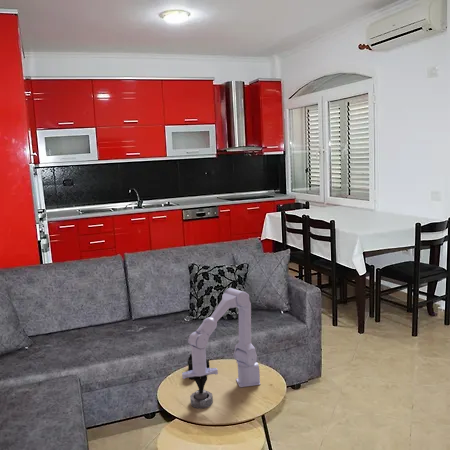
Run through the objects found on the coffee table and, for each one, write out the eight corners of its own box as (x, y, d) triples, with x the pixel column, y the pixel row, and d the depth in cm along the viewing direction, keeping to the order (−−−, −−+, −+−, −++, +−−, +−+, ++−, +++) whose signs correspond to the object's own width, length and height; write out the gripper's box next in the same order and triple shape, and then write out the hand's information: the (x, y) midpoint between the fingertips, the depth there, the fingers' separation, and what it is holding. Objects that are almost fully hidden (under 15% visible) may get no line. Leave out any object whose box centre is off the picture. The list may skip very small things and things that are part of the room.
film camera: (208, 380, 213) (207, 361, 212) (187, 381, 214) (186, 362, 212) (210, 365, 228) (209, 348, 227) (190, 366, 229) (189, 349, 227)
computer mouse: (206, 397, 196) (206, 388, 196) (208, 403, 191) (207, 393, 191) (195, 399, 196) (194, 389, 195) (195, 405, 191) (195, 395, 190)
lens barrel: (210, 396, 199) (210, 389, 198) (214, 406, 190) (213, 399, 189) (189, 399, 197) (189, 392, 197) (192, 409, 188) (191, 403, 188)
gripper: (214, 355, 196) (216, 385, 198) (180, 359, 193) (182, 390, 195) (217, 361, 189) (219, 393, 191) (182, 366, 187) (184, 398, 188)
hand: (201, 392), depth 193 cm, fingers closed
